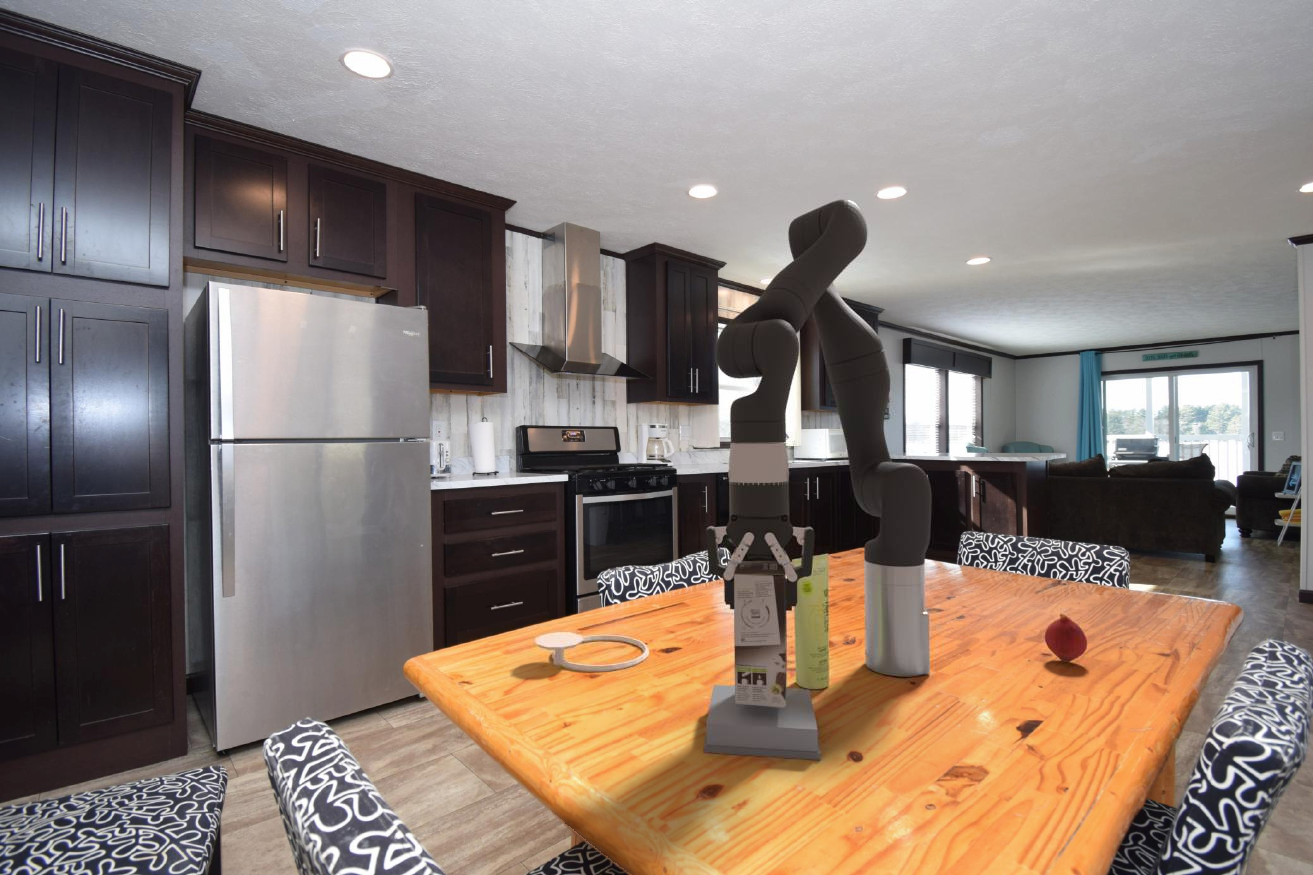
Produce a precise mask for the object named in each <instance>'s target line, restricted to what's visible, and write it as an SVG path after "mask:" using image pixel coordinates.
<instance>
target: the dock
mask: <svg viewBox="0 0 1313 875" xmlns="http://www.w3.org/2000/svg"><path fill="white" fill-rule="evenodd" d="M705 726H706V732H705V739H704V743H703V744H704V745H703V753H706V754H708V753H709V754H721V755H723V754H725V755H737V756H738V755H739V756H752V757H753V756H754V757H755V756H756V757H767V758H781V759H783V758H784V759H798V760H800V759H801V760H810V761H811V760H812V761H813V760H814V761H815V760H816V761H822V760H821V759H822V756H821V755H822V753H821V748H820V747H821V746H820V743H819V738H818V737H819V734H818V725H817V720H816V716H815V709H814V704H813V700H812V694H811V689H807V688H804V689H803V688H786V706H785V707H784V708H779V707H769V706H757V705H744V704H736V703H735V685H726V684H725V685H722V684H721V685H720V684H713V686H712V692H711V697H710V702H709V706H708V713H707V719H706V725H705Z"/></svg>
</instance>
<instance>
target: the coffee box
mask: <svg viewBox="0 0 1313 875" xmlns="http://www.w3.org/2000/svg"><path fill="white" fill-rule="evenodd" d="M786 578H787V576H786V574H785V570H784V569H782V567H781V566H780V564H779V563H778V561H777V560H752V561H747V560H746V561H745V560H742V562H741V563H740V565H739V567H738V568H737V569H735V571H734V609H733V612H734V613H733V617H734V618H733V620H734V621H733V622H734V624H733V627H734V628H733V629H734V631H733V632H734V633H733V634H734V635H733V636H734V642H733V643H734V686H735V703H736V704H744V705H757V706H769V707H779V708H784V707H785V706H786V689H787V683H788V682H787V675H788V674H787V673H788V667H787V666H788V649H787V648H788V647H787V646H788V632H787V631H788V628H787V625H788V624H787V623H788V622H787V611H786Z"/></svg>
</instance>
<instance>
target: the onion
mask: <svg viewBox="0 0 1313 875" xmlns="http://www.w3.org/2000/svg"><path fill="white" fill-rule="evenodd" d="M1059 616H1060V617H1059V618H1058V619H1055V620H1054V621H1053V622H1051V623H1050V624H1049V625H1048V627H1047V628H1046V630H1045V632H1044V642H1045V644H1046V646H1047V648H1048V649H1049V650H1050V651H1051V652H1052V653H1053V654H1054V655H1055V656H1056V657H1057V658H1058V659H1059V660H1060V662H1063V663H1069V662H1072V661H1074V660H1076V659H1078V658H1079V657H1081V656H1082V655H1084V654H1085V652H1086V651H1087V647H1088V641H1087V636H1086V634H1085V633H1084V631H1083V629H1082V628H1081V627H1080V626H1079V624H1077V623H1076V622H1075V621H1073V620H1072V619H1071V617H1069V616H1068V614H1066V613H1063V612H1062V613H1060V614H1059Z"/></svg>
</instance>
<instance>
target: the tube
mask: <svg viewBox="0 0 1313 875" xmlns="http://www.w3.org/2000/svg"><path fill="white" fill-rule="evenodd" d="M801 559H802V557H800V558H795V559H791V563H792V565H793V567H794V568H795V567H798V566H801ZM829 561H830V556H829V553H825V554H824V553H823V554H820V555H813V564H812V574H811V575H810V576H809V577H803V578H800V579H799V580H798V582H797V605H796V606H793V610H794V611H793V614H794V615H793V616H794V619H793V620H794V644H795V645H794V646H795V647H794V649H795V682H796V684H797V685H798V687H799V686H800V687H801V688H804V689H806V690H821V689H825V688H827V687H829V685H830V645H829V644H830V642H829V640H830V638H829V636H830V634H829V632H830V631H829V628H830V627H829V624H830V622H829V620H830V619H829V618H830V617H829V616H830V615H829V610H830V609H829V608H830V607H829V603H830V602H829V576H830V574H829V573H830V572H829V566H830V565H829V564H830V563H829Z"/></svg>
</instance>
